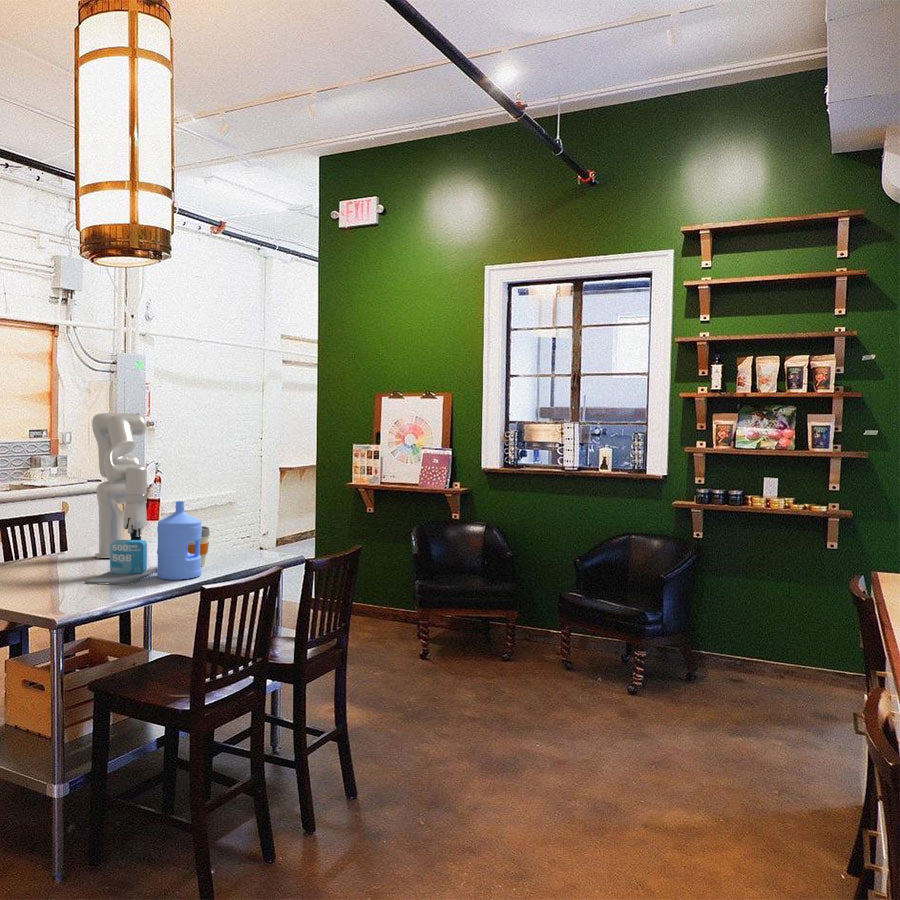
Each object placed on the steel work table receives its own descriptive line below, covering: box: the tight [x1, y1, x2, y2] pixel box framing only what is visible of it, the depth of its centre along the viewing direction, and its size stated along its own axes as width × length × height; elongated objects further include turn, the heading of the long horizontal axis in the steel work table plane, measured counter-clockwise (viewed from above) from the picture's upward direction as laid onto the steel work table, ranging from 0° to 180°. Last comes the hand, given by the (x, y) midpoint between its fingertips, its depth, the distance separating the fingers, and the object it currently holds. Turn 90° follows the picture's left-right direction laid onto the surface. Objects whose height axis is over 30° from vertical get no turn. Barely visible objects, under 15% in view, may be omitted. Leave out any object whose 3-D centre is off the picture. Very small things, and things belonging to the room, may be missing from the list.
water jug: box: [156, 500, 203, 581], centre depth 285 cm, size 16×16×28 cm
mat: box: [84, 569, 158, 585], centre depth 281 cm, size 22×16×1 cm
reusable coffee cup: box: [188, 525, 210, 567], centre depth 305 cm, size 13×13×15 cm
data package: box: [109, 539, 148, 574], centre depth 286 cm, size 12×4×12 cm, turn 95°
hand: (135, 546), depth 291 cm, fingers closed
